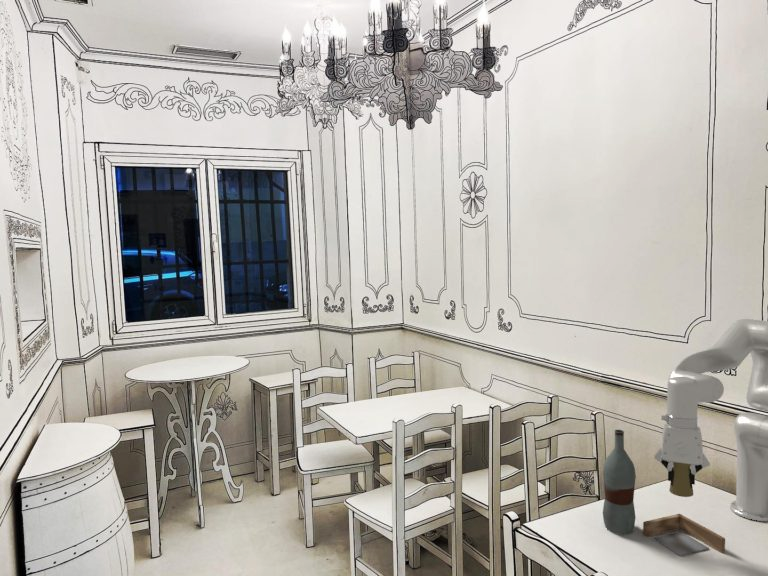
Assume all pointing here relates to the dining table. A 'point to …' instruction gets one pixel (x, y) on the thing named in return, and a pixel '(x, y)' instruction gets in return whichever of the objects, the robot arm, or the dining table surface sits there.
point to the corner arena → (683, 535)
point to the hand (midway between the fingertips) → (681, 484)
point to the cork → (681, 480)
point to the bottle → (619, 489)
